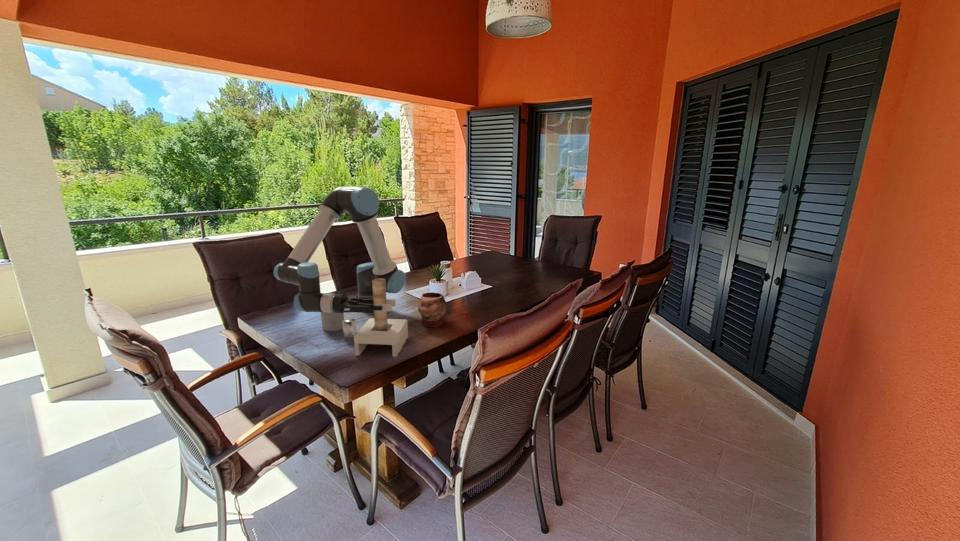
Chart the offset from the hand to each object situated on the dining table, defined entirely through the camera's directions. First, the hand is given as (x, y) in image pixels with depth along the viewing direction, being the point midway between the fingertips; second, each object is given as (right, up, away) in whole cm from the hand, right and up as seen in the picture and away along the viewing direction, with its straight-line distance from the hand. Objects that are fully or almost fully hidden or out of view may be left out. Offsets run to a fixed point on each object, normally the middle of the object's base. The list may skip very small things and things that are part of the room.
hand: (393, 305), depth 149 cm
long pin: (-5, -11, +3) cm, 13 cm away
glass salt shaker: (-21, -15, +12) cm, 28 cm away
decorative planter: (+12, -11, +29) cm, 34 cm away
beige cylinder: (-32, -12, +23) cm, 41 cm away
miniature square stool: (-5, -17, +5) cm, 18 cm away
